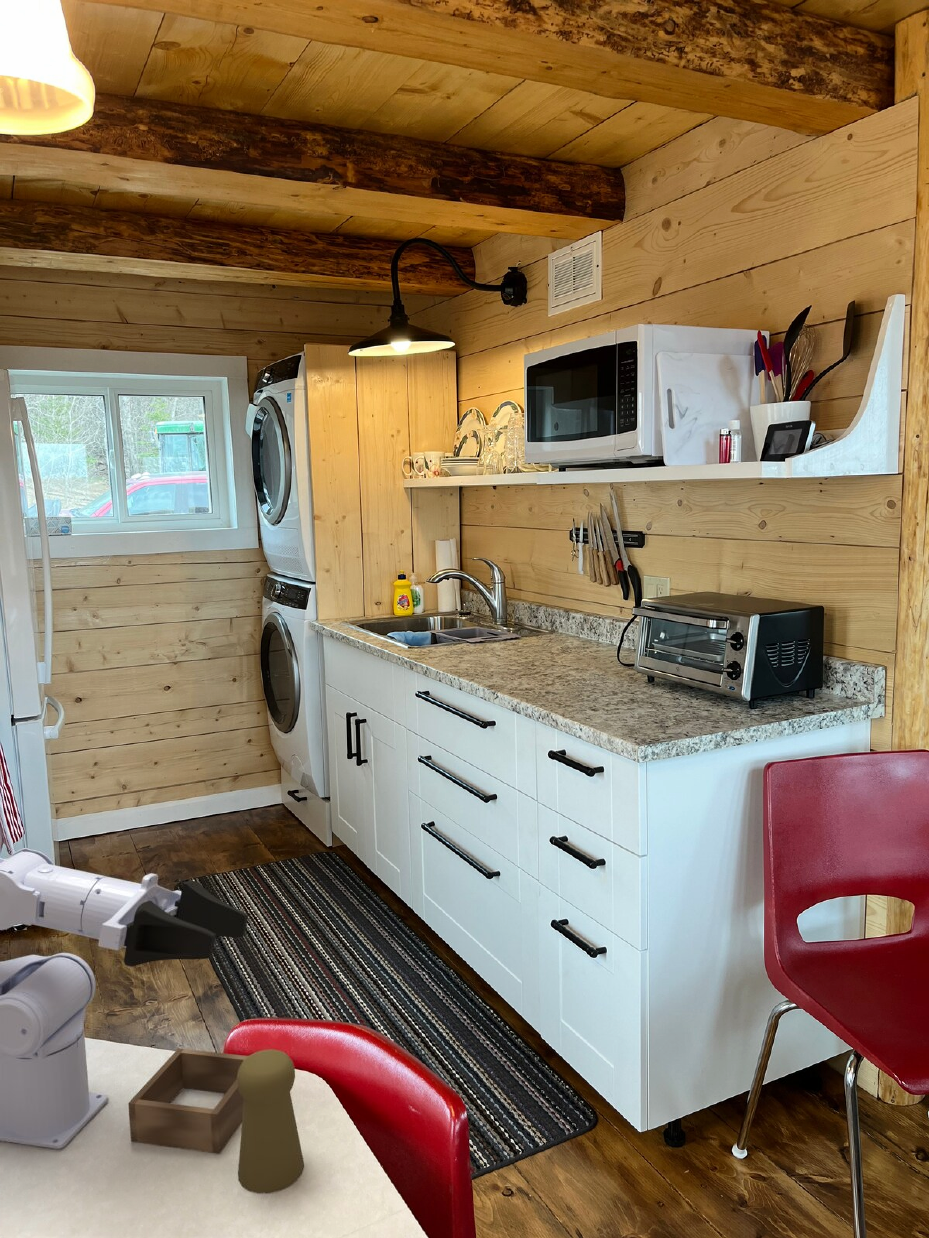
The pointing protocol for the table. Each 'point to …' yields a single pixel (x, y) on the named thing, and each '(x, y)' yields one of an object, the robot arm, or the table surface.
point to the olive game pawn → (268, 1123)
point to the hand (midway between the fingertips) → (229, 935)
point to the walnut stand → (186, 1123)
